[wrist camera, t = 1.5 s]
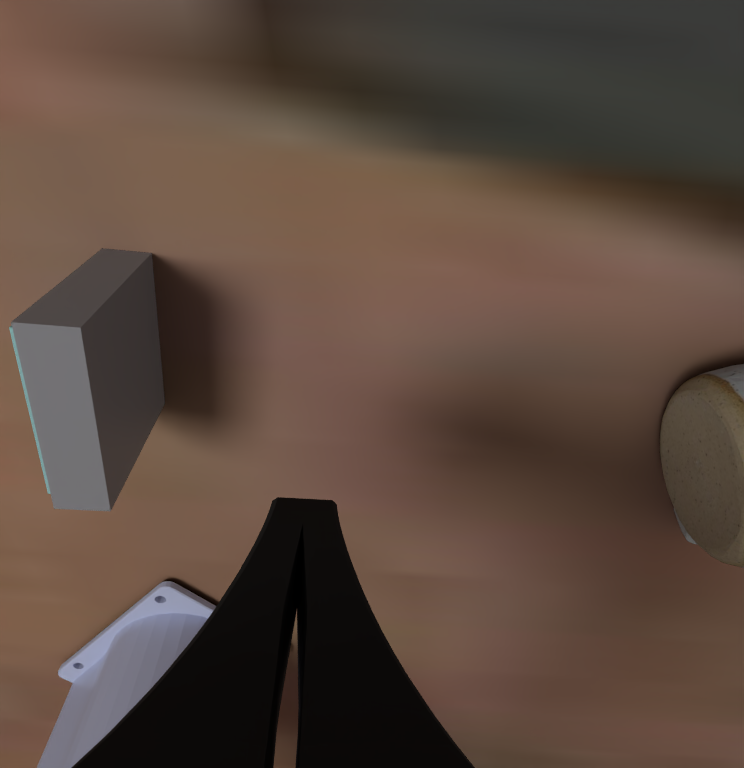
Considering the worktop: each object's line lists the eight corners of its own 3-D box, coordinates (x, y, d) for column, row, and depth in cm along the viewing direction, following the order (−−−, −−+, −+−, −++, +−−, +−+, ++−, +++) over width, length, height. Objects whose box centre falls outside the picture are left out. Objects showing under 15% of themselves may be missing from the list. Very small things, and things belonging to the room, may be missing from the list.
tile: (152, 252, 19) (80, 327, 14) (165, 403, 22) (110, 511, 17) (94, 247, 19) (-1, 321, 13) (115, 400, 22) (45, 508, 16)
